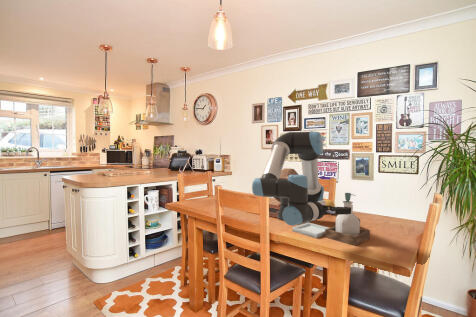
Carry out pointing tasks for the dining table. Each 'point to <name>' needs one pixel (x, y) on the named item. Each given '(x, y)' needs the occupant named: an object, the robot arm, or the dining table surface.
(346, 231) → the soap bottle
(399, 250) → the dining table surface
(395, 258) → the dining table surface
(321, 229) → the tray
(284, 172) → the pottery vessel
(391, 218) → the dining table surface
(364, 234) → the walnut holder
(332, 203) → the stress ball
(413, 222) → the dining table surface
